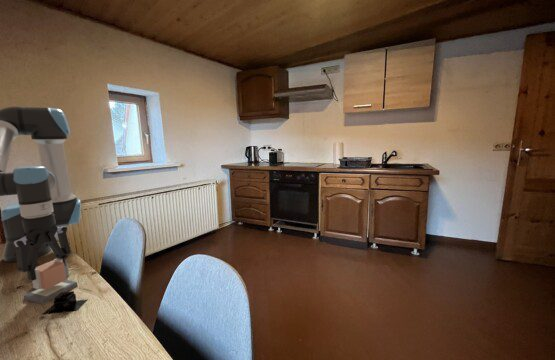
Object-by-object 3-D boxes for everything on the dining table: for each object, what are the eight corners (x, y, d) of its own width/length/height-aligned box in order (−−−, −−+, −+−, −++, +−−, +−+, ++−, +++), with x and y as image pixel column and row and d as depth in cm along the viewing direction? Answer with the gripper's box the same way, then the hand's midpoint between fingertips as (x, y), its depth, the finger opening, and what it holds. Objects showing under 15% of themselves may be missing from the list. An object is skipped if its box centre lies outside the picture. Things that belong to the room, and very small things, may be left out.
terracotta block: (54, 277, 85) (51, 261, 84) (66, 279, 83) (64, 262, 82) (33, 286, 79) (30, 269, 78) (46, 289, 78) (43, 271, 77)
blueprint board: (58, 282, 88) (58, 278, 88) (77, 285, 86) (76, 281, 85) (24, 299, 78) (23, 295, 78) (43, 303, 76) (43, 299, 76)
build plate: (34, 318, 71) (31, 304, 70) (53, 302, 78) (51, 289, 77) (81, 313, 72) (78, 299, 71) (95, 298, 79) (93, 285, 79)
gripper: (6, 225, 68) (21, 301, 71) (78, 207, 86) (87, 269, 89) (-11, 223, 70) (4, 298, 73) (62, 206, 88) (72, 266, 91)
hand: (50, 282), depth 81 cm, fingers closed on terracotta block, 6 cm apart
